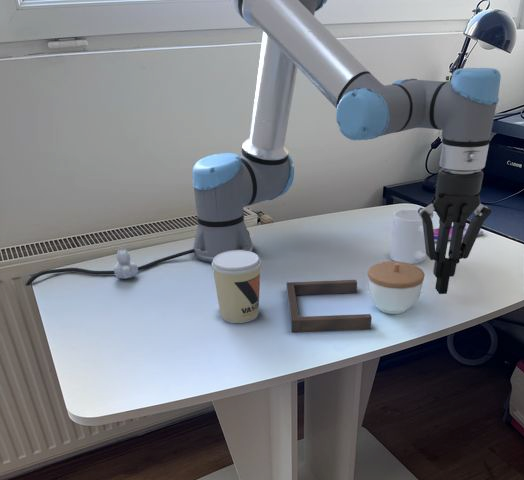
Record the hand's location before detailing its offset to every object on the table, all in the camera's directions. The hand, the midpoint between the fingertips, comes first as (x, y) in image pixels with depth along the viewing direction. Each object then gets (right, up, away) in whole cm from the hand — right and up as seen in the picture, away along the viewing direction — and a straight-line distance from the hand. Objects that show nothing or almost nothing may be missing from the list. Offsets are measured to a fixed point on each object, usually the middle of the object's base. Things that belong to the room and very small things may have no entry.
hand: (440, 290), depth 102 cm
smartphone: (+15, +19, +35) cm, 43 cm away
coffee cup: (-40, -5, +2) cm, 41 cm away
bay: (-22, -4, +2) cm, 23 cm away
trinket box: (-9, -3, +2) cm, 10 cm away
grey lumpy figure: (-68, +5, +19) cm, 70 cm away
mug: (0, +10, +22) cm, 24 cm away
